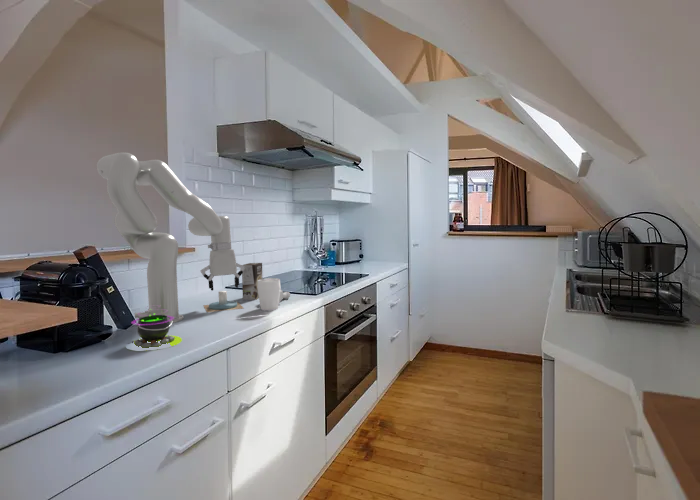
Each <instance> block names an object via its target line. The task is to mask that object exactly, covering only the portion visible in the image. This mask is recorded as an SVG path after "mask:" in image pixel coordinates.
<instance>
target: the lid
mask: <svg viewBox="0 0 700 500" xmlns="http://www.w3.org/2000/svg"><path fill="white" fill-rule="evenodd" d="M227 292H228V291H227V290H219V291H218V301H215V302H211V303H209V304H208V305H209V309H212V310H225V309H232V308H235V307H237V302H238V301H233V300H228V293H227ZM225 311H226V310H225Z"/></svg>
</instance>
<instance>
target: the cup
mask: <svg viewBox="0 0 700 500" xmlns="http://www.w3.org/2000/svg"><path fill="white" fill-rule="evenodd" d="M257 289H258V295H259V299H258V300H259V306H260V310H262V311H276V310H278V309H279V304H280V302H279V297H280V289H282V288H281V278H272V277H268V278H263V279H259V280H258V284H257Z"/></svg>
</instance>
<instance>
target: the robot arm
mask: <svg viewBox="0 0 700 500" xmlns="http://www.w3.org/2000/svg"><path fill="white" fill-rule="evenodd" d="M96 170H97V173H98V175H99V176H100V177H101V178H103V179H104V180H107V181H106V182H107V184H106V189H107V190H106V191H107V195H108V197H109V200H110V201H111V203H112V204H113V206H114V208H115V209H116V211H117V212H116V214H115V217H114V225H115V228H116V230H117V231H118V233H119V234H120V235H121V237H122V238H123V240H124V241H125V242H126V243H127V244H128V246H129V247H130V249H131V250H132V251H134V253H135V254H136V255H137V256H139V257H140V258H142V259H143V258H144V259H148V263H147V268H146V279H147V298H148V301H147V302H148V309H147V311H146V310H144V312H142V311H139V312H135V313H134V319H139V318H142V317H146V316H144V315H147V316H149V315H151V316H152V315H153V314H154V313H155V315H157V314H158V315H166V316H167V317H168V316H173V317H174V319H173V317H172V320H173V322H172V321H171V320H170V318H168V320H170V321H169V322H170V324H171V322H172V324H174V323H177V322H181V321H183V320H184V315H182V314H180V313H179V294H178V293H179V292H178V291H179V290H178V275H177V274H178V273H177V272H178V271H177V262H178V255H179V254H178V253H179V243H178V240H177V239H176V238H175V236H173V235H172V234H170V233H166V232H158V231H157V232H154V231H156V229H157V228H158V218H157V216H156V214H155V213H154V212H153V211H152V210H151V208H150V206H149V205H148V204H147V203H146V201H145V200H144V198H143V197H142V195H141V193H140V191H139V190H138V187H137V186H152V187H153V189H155V191H156V192H157V193H158V194H159V196H161V197H162V199H164V201H165V202H166V203H167V204H168V205H169V206H170V207H172V208H174V209H177V211H181V212H184V213H187V214H188V215H190V216H191V217H192V218H191V219H190V220H189V221H188V224H187V227H188V230H189V231H190V233H191V234H193V235H194V236H197V237H198V236H199V237H200V236H201V237H210V240H211V241H210V243H209V244H207V249H211V250H210V251H209V252H210V253H209V265H207V266H206V267H204V268H201V270H200V273H201V275H202V276H203V278H205V279H206V280H207V281H208V289H210V291H211V292H212V291H214V282H213V281H214V280H213V279H214V277H219V276H228V275H229V276H230V275H233V276H234V287H235V288H236V289H237V288H239V286H240V277H242V273H243V271H244V269H245V266H243V265H244V264H240V263H238V262H237V259H236V254H235V253H236V252H235V249H233V248H232V238H231V237H232V236H231V222H230V217H229V216H227V215H219V214H217V213H216V211H215V210H214V209H213V208H212V207H211V206H210V205H209V203H207V202H205V201H204V200H203V199H202V198H200V197H198V196H197V195H196V194H194V193H193V192H191V191H190V190H189V189H188V188H187V187H186V186H185V185H184V183H183V182H182V181H181V180H180V178H179V177H178V176H177V175H176V174H175V172H174V171H173V170H172V169H171V168H170V167H169V165H168V164H167V163H166V162H164V161H162V160H160V159H150V160H149V159H148V160H144V161H140V160H138V159H137V157H136V156H135V155H134V154H132V153H130V152H117V153H116V152H115V153H112V154H108V155H104V156H102V157H101V158H99V160H98V161H97V163H96ZM237 267H238V268H239V269H240V270H239V271H238V268H237ZM207 271H209V273H210V274H209V275H208V274H207V273H206V272H207ZM154 305H155V306H154ZM156 305H157V306H156ZM159 306H160V307H159ZM156 307H157V308H156ZM150 309H151V310H150ZM155 309H157V310H155ZM162 309H163V310H162ZM164 309H165V310H164ZM166 310H168V311H166ZM164 312H165V313H164ZM138 314H140V315H138Z"/></svg>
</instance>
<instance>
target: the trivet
mask: <svg viewBox="0 0 700 500" xmlns="http://www.w3.org/2000/svg"><path fill="white" fill-rule="evenodd" d="M236 302H237V307H235V308H232V309H225V310H212V309H209V304H204V305H203V308H204V309H205V311H206V313H214V312H224V311H233V310H242V309H245V308H244V306H242V304H240V302H238V301H236Z"/></svg>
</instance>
